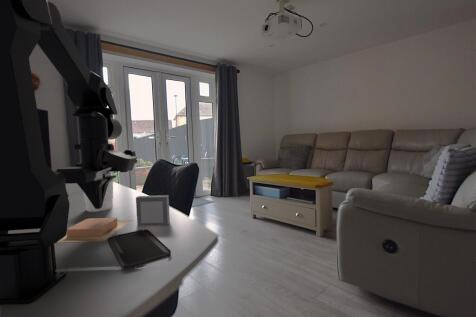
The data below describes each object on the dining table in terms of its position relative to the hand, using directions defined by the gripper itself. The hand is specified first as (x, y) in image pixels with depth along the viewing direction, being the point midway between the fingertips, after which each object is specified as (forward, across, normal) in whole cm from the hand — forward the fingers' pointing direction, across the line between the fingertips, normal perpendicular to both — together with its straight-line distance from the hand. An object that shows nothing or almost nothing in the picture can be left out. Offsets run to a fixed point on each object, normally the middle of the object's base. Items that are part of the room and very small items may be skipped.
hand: (98, 208), depth 56 cm
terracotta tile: (+4, +1, 0) cm, 4 cm away
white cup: (+5, +16, +9) cm, 19 cm away
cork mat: (+5, -2, 0) cm, 5 cm away
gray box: (+5, +1, -12) cm, 13 cm away
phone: (+5, -11, -13) cm, 18 cm away
